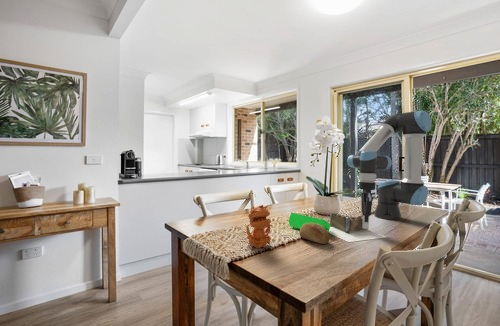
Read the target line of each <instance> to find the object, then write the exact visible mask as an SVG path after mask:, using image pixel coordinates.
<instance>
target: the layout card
mask: <svg viewBox="0 0 500 326" xmlns="http://www.w3.org/2000/svg"><path fill="white" fill-rule="evenodd" d="M327 232H328V234H329V235H332V236H334V237H336V238H338V239H340V240H343V241H345V242H347V243H354V242H355V243H356V242H363V241H370V240H377V239H385V238H387V236H386V235H382V234H380V233H378V232H375V231H372V230H369V229H368V230H361V231H354V232H350V233H345V231H343V230H341V229H338V228H336V227H334V226H333V227H330V229H329V231H328V230H327Z"/></svg>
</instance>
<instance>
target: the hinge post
mask: <svg viewBox="0 0 500 326" xmlns="http://www.w3.org/2000/svg"><path fill="white" fill-rule="evenodd" d="M345 217H346V229H345V233H350V219H351V217H349V216H345Z"/></svg>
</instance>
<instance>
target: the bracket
mask: <svg viewBox="0 0 500 326" xmlns="http://www.w3.org/2000/svg"><path fill="white" fill-rule="evenodd" d="M306 223H317V224H320V225H321V226H323V227H324V228H325V229H326V230H328V231H329V229H330V226H331V224H330V222H328V221H326V220H325V219H323V218H318V217H313V216H309V215H305V214H299V213H296V212H291V213H290V215H289V218H288V225H289V226H290V227H292V228H295V229H297V228H298V230H300V229H301V227H302V225H303V224H306Z"/></svg>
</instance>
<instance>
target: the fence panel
mask: <svg viewBox="0 0 500 326" xmlns="http://www.w3.org/2000/svg"><path fill="white" fill-rule="evenodd" d="M362 219H363V217H361V216H357V218H356V217H354V216H351V217H350V232H354V231H361V230H369V229H365V228H362Z"/></svg>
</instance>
